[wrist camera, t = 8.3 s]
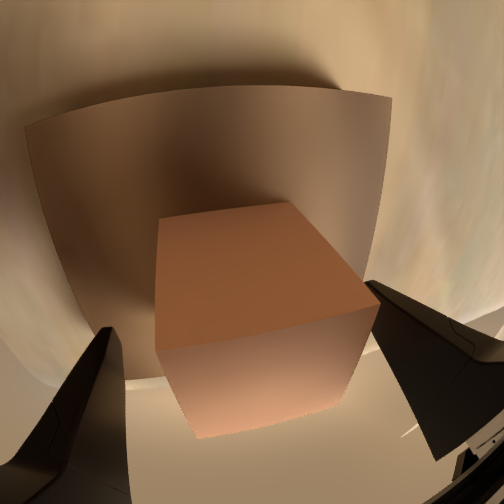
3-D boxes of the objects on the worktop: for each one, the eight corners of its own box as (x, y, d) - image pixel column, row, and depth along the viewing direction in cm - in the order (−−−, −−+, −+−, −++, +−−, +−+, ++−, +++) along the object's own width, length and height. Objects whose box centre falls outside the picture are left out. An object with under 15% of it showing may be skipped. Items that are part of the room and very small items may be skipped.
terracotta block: (290, 201, 11) (380, 303, 6) (284, 299, 14) (338, 404, 9) (159, 218, 10) (155, 351, 5) (180, 317, 13) (197, 438, 8)
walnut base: (343, 91, 13) (392, 97, 10) (320, 298, 20) (346, 338, 17) (62, 114, 10) (24, 126, 7) (124, 332, 18) (121, 380, 14)
